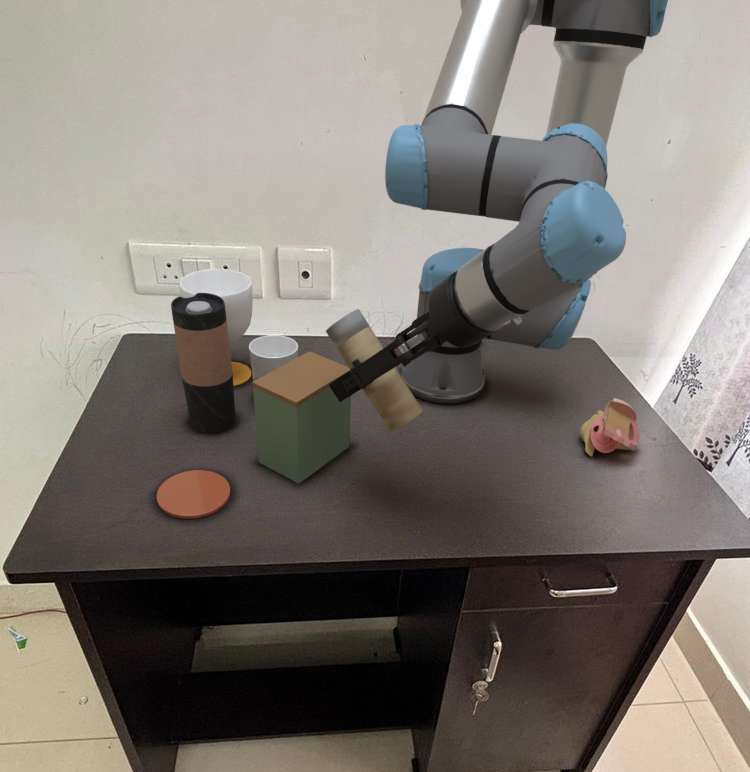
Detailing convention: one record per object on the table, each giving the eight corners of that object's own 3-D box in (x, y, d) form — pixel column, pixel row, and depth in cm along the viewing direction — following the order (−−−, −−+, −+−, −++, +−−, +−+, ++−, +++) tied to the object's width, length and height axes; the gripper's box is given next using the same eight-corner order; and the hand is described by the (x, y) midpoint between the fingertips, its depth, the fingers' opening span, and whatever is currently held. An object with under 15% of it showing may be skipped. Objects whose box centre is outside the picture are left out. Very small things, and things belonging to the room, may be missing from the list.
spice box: (349, 446, 99) (352, 368, 90) (298, 484, 92) (296, 402, 83) (310, 428, 103) (309, 350, 94) (258, 462, 95) (252, 381, 86)
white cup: (280, 416, 105) (277, 362, 98) (243, 401, 108) (238, 347, 101) (308, 396, 110) (307, 344, 103) (272, 382, 113) (269, 330, 106)
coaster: (209, 464, 94) (209, 461, 94) (243, 500, 88) (243, 497, 88) (145, 489, 89) (144, 486, 89) (177, 529, 83) (176, 526, 83)
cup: (179, 381, 111) (163, 287, 100) (216, 353, 120) (206, 263, 109) (236, 398, 108) (227, 302, 97) (271, 368, 117) (265, 277, 106)
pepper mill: (427, 429, 83) (438, 329, 74) (405, 446, 80) (414, 344, 71) (342, 393, 89) (343, 296, 80) (320, 408, 86) (318, 309, 77)
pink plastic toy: (560, 448, 103) (580, 393, 104) (603, 470, 107) (622, 417, 108) (600, 450, 95) (622, 391, 95) (645, 474, 99) (666, 417, 99)
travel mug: (226, 437, 99) (212, 317, 86) (181, 430, 100) (160, 310, 87) (244, 412, 105) (233, 296, 92) (200, 405, 106) (184, 289, 93)
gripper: (451, 363, 61) (321, 438, 79) (531, 305, 73) (402, 381, 90) (411, 295, 60) (287, 386, 78) (499, 246, 71) (374, 335, 89)
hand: (349, 383), depth 84 cm, fingers closed on pepper mill, 5 cm apart
